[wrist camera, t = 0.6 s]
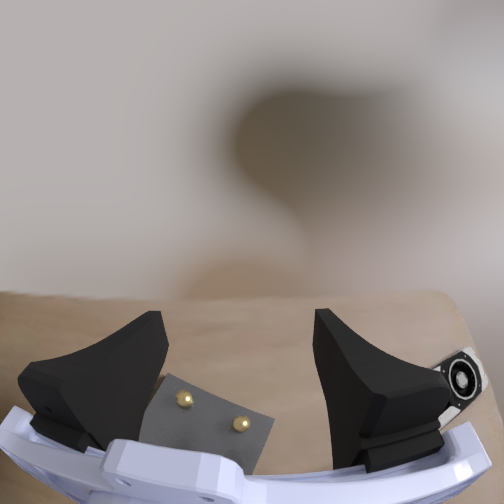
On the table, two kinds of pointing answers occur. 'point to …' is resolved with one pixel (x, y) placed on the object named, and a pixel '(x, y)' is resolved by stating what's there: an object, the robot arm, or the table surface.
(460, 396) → the graphics card
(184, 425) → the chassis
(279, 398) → the table surface
